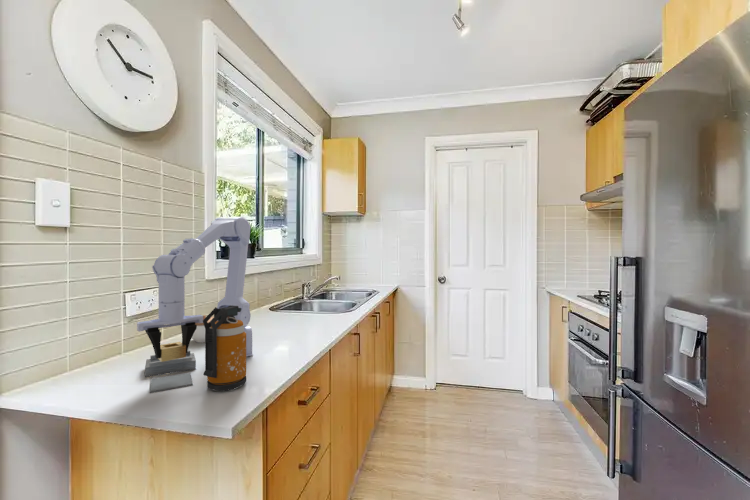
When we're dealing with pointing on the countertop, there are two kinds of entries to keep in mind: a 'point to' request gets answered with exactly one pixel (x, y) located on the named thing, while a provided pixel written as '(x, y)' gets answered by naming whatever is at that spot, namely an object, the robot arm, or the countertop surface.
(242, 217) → the robot arm
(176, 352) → the brass square ring
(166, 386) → the rubber mat
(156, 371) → the block
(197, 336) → the lidded jar
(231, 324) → the canister
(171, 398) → the countertop surface
